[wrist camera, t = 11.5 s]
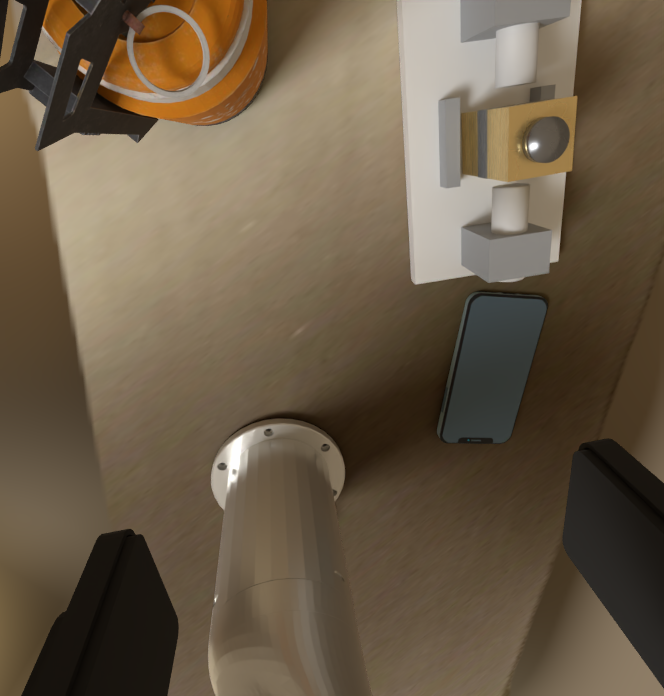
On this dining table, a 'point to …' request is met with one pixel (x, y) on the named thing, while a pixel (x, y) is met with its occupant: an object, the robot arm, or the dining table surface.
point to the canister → (137, 63)
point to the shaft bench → (446, 133)
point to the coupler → (519, 140)
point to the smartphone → (490, 366)
